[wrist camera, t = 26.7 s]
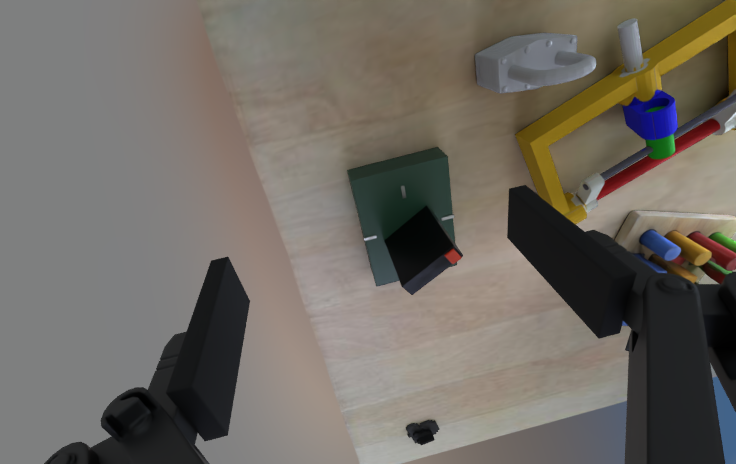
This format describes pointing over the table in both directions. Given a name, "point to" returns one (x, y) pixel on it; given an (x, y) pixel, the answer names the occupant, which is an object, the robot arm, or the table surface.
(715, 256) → the peg board
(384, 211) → the green rectangular block
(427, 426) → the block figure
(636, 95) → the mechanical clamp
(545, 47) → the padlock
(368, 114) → the table surface
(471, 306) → the table surface
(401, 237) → the black bar red tab
